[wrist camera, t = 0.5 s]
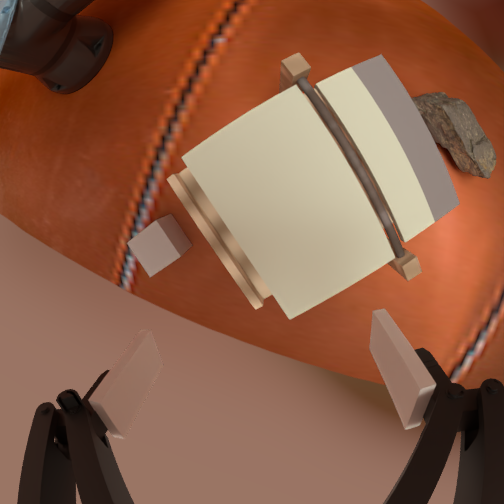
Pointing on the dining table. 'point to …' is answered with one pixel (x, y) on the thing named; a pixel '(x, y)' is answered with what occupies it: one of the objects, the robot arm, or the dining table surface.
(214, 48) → the dining table surface
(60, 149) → the dining table surface
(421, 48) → the dining table surface
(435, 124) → the rock
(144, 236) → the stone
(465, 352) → the dining table surface
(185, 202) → the stand
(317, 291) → the flap
